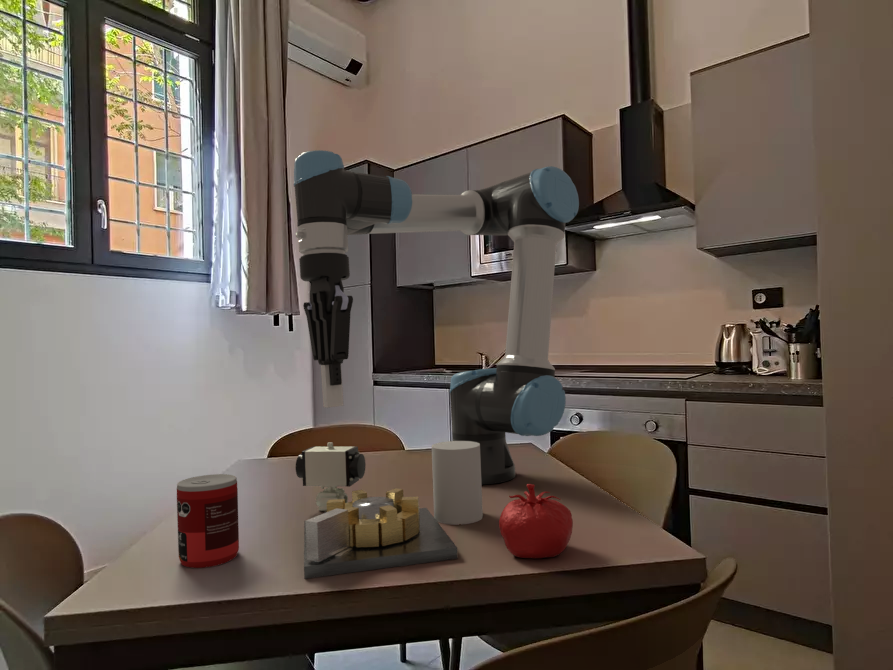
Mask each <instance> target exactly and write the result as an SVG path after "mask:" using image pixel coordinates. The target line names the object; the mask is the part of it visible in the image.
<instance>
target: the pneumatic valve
mask: <svg viewBox="0 0 893 670" xmlns="http://www.w3.org/2000/svg"><path fill="white" fill-rule="evenodd" d="M366 465H367V464H366V457H365V455H364V454H363V453H360V451H359V447H358V446H334V443H333V442H330V441H329V442H327V446H311V447H309V448H307V449H305V450H302V451H301V453H300V454H298V456H297V458H296V461H295V473H296V476H297V478H299V479H300V480H301V481H302V486H303V487H320V489H322V490H323V491H320V492H318V493H317V495H316V498H315V504H316V506H317V507H318V508H317V509H318V511H320V512H327V501H328V500H334V499H345V503H348V502H349V501H348V499H349V498H348V494H347V493H346V492H345V491H346V490H345V489H344V488H343V487H345V488H346V487H351V486H353V485H355V484H356V483H357V482H358V481H360V479H363V477H364V476H365V473H366ZM338 487H342V488H338Z"/></svg>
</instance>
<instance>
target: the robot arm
mask: <svg viewBox="0 0 893 670" xmlns="http://www.w3.org/2000/svg"><path fill="white" fill-rule="evenodd" d="M293 187H294V193H295V194H294V196H295V197H294V199H295V207H296V208H295V209H296V218H297V219H296V220H297V221H296V222H297V225H296V226H297V231H296V232H295V238H297V240H298V251H299V253H300V254H302V255H301V256H300V258H299V259H298V262H299V275H300V279H301V280H302V281H304V282H308V283H309V284H310V287H309V288H310V289H309V302H305V301H304V302H303V304H302V306H303V310H304V313H305V315H306V321H307V328H308V334H309V339H310V340H309V341H310V347H311V351H312V358H313V361H317V362H318V364H319V365H320V372H321V373H320V374H321V391H322V406H323V408H327V409H328V408H335V407H343V406H345V405H344V395H343V394H344V393H343V392H344V390H343V389H344V388H343V377H342V376H343V375H342V364H343V362H344V361H345V360H348V359H349V353H350V351H349V350H350V334H351V333H350V331H351V328H350V327H351V311H352V307H353V302H354V297H353V296H352V295H346V294H345V293H344V292H345V291H344V290H345V289H344V285H343V281H345V280H347V279H349V278H350V276H351V274H350V273H351V271H350V260H349V259H350V258H349V256H348V255H347V254H346V253H348V251H349V239H348V236H353V235H354V236H356V235H357V236H358V235H371V234H395V233H396V234H401V233H402V234H404V233H405V234H406V233H430V232H431V233H432V232H433V233H434V232H461V233H462V234H464V235H466V236H508V237H509V238H510V239H511V241H512V242H513V252H512V253H513V254H512V267H511V279H510V289H509V290H510V291H509V292H510V293H509V302H508V303H509V304H508V316H507V328H506V341H505V352H504V353H505V354H504V357H503V358H502V359H501V360H500V361H499V362H498V363H497V364H496V367H493V368H481V369H475V370H467V371H462V372H457V373H454V374H453V375H452V376H451V378H450V386H449V395H450V396H449V397H450V399H449V400H450V417H451V421H450V422H451V439H452V440H451V441H471V442H477V443H479V444H480V459H481V485H492V484H493V485H494V484H499V483H504V482H505V483H506V482H508V481H511V480H513V479H515V477H516V465H515V462H514V459H513V457H512V454H511V451H510V448H509V445H508V443H507V438H506V437H507V436H506V433H508V434H514V435H519V436H521V437H524V436H525V437H530V436H534V437H541V436H544V435H547V434H550V433H551V432H553V430H554V429H555V427H556V426H558V425H559V423H560V422H561V420H562V418H563V417H564V413H565V409H566V403H567V400H566V399H567V398H566V392H565V390H564V389H563V384H562V383H561V381H560V380H558V378H555V374H556V369H555V367H554V366H553V365H552V363H551V362H550V361H549V353H550V351H549V350H550V339H551V338H550V337H551V336H550V335H551V323H552V306H553V295H554V294H553V293H554V282H555V281H554V280H555V269H556V267H555V266H556V265H555V264H556V252H557V245H558V243H560V242H561V241H562V240H564V238H565V233H566V223H569V222H571V221H573V219H574V218H575V217H577V214H578V212H579V208H580V207H579V206H580V200H579V194H578V191H577V187H576V185H575V184H574V183H573V181H572V178H571V177H570V176H569V174H567V173H566V172H565V171H564V170H563V169H561V168H560V167H558V166H549V165H548V166H545V167H542V168H534V169H533V170H532V171H530V172H527V173H525V174H522V175H520V176H517V177H514V178H510V179H508V180H505V181H502V182H500V183H497V184H494V185H491V186H489V187H485V188H481V189H476V190H475V189H474V190H473V189H469V190H465V191H463V192H461V194H424V193H423V194H421V193H420V194H417V193H416V194H415V193H412V189H411V187H410V185H409V184H408V183H407V182H406V181H405V180H403V179H399V178H397V177H392V176H389V175H386V176H385V175H376V174H370V173H361V172H354V171H350V170H346V169H345V165H344V162H343V158H342V156H341V155H340V154H338V153H335V152H333V151H330V150H321V149H318V150H317V149H316V150H309V151H305V152H302V153H300V154H299V155H298V156H296V158H295V160H294V168H293Z"/></svg>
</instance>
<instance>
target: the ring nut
mask: <svg viewBox="0 0 893 670" xmlns="http://www.w3.org/2000/svg"><path fill="white" fill-rule="evenodd" d="M385 497H387V498H391V499H393V502H394V507H392V506H391V505H388V506H383V507H379V511H380V519H364V520H360V519H359V508H356V507H353V502H354V501H356V500H359V499H363V498H368V492H367V491H366V490H364V489H357V490H356V489H355V490H352V491H351V499H352V500H351V501H348V502H347V503H345V499H334V500H328V501H327V511H325V512H324V513H321V514H319V515H316V516H314V517H311V518H308V519H307V520H306V519H305V521H306V550H307V560H311V561H315V562H320V561H322V560H324V559H326V558H328V557H330V556H332V555H334V554H336V553H338V552H340V551H342V550H344V549H346V548H348V547H354V546H356V547H379V545H382V546H385V545H390V544H394V543H398V542H403V540H405V541H406V540H408V539H409V538H411V537H413V536H415V535H417V534H418V533H419V529H420V513H419V508H420V500H419V498H420V497H419V496H404V489H402V488H396V487H395V488H392V489H390V490H388V491H385Z"/></svg>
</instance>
